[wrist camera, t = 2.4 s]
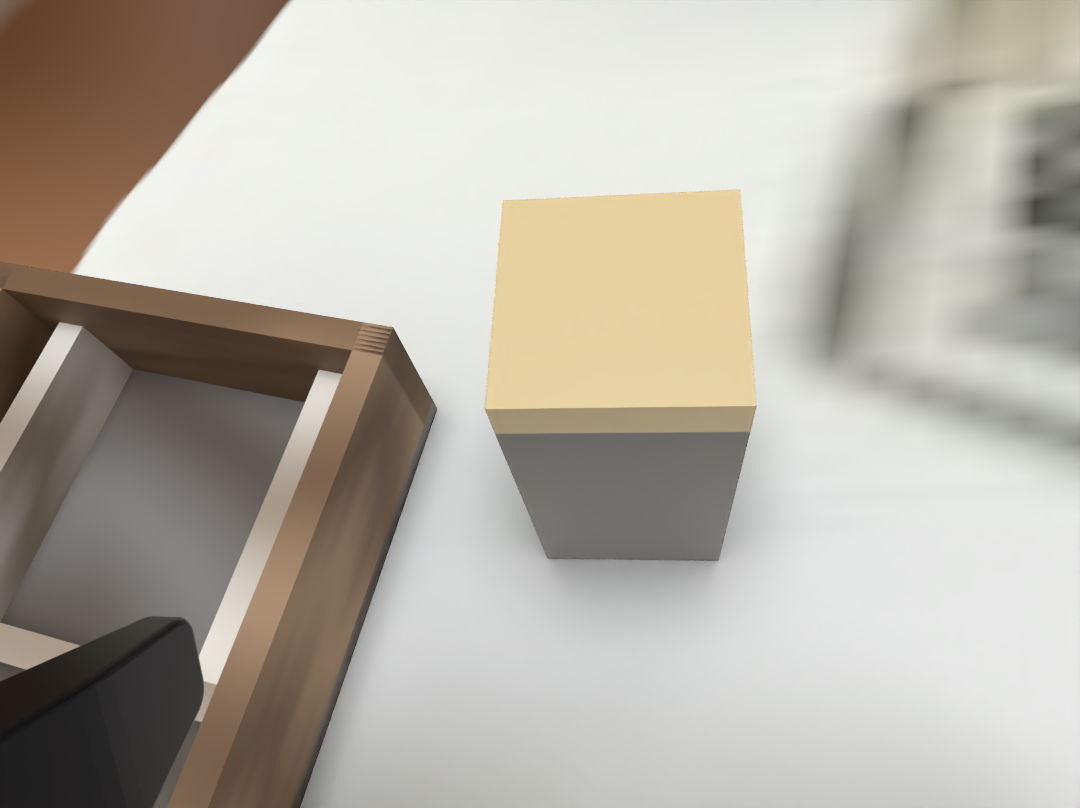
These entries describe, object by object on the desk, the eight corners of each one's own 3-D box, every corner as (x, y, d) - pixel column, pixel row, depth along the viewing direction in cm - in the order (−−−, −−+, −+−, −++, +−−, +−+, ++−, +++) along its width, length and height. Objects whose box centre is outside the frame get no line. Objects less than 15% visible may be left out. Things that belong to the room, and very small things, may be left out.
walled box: (124, 1315, 16) (-54, 1484, 12) (-324, 1093, 19) (-592, 1170, 15) (437, 408, 24) (393, 327, 20) (92, 343, 27) (-7, 260, 23)
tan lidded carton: (718, 560, 21) (756, 405, 13) (547, 558, 22) (484, 409, 14) (710, 406, 23) (740, 189, 15) (554, 408, 24) (503, 200, 16)
